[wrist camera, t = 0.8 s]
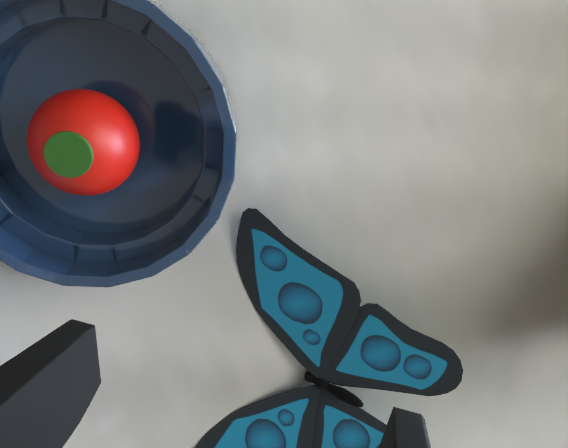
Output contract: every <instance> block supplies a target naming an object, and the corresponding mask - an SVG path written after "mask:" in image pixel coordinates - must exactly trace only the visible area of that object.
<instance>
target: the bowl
mask: <svg viewBox="0 0 568 448" xmlns="http://www.w3.org/2000/svg"><path fill="white" fill-rule="evenodd" d="M71 89H90V90H94V91H98V92H101V93H104V94H106V95H108V96H110V97H112V98H113V99H115V100H116V101H118V102H119V103H120V104H121V105H122V106H123V107H124V108H125V109H126V110H127V111H128V112H129V114H130V115H131V117H132V118H133V120H134V122H135V124H136V127H137V129H138V133H139V139H140V153H139V158H138V161H137V164H136V166H135V168H134V170H133V171H132V173H131V175H130V176H129V177H128V178H127V179H126V180H125V181H124V182H123V183H122V184H121V185H119V186H118V187H116V188H115V189H113V190H111V191H109V192H105V193H102V194H99V195H92V196H82V195H75V194H70V193H67V192H64V191H62V190H60V189H58V188H56V187H54V186H53V185H51V184H50V183H49V182H47V181H46V180H45V179H44V178H43V177H42V176H41V175H40V174H39V172H38V171H37V170H36V168H35V167H34V165H33V163H32V161H31V159H30V156H29V153H28V148H27V131H28V126H29V123H30V120H31V118H32V116H33V114H34V113H35V111H36V110H37V109H38V107H39V106H40V105H41V104H42V103H43V102H44V101H45V100H47V99H48V98H50V97H51V96H53V95H55V94H57V93H60V92H63V91H66V90H71ZM236 131H237V123H236V118H235V114H234V110H233V106H232V103H231V99H230V95H229V92H228V88H227V84H226V80H225V78H224V76H223V75H222V73H221V71H220V70H219V68H218V67H217V65H216V64H215V62H214V60H213V59H212V57H211V56H210V54H209V52H208V51H207V49H206V48H205V46H204V45H203V43H202V41H201V40H200V39H199V38H198V37H197V36H196V35H195V34H194V33H192V32H191V31H190V30H189V29H188V28H187V27H186V26H184V25H183V24H182V23H181V22H180V21H179V20H177V19H176V18H175V17H174V16H173V15H172V14H170V13H169V12H168V11H167V10H166V9H165V8H163V7H162V6H160V5H158V4H155V3H153V2H151V1H148V0H0V261H2V262H3V263H5V264H6V265H8V266H10V267H11V268H13V269H14V270H16V271H18V272H21V273H24V274H27V275H31V276H34V277H37V278H40V279H44V280H47V281H50V282H53V283H57V284H60V285H64V286H88V287H112V286H116V285H120V284H124V283H128V282H132V281H136V280H140V279H144V278H148V277H152V276H154V275H156V274H158V273H159V272H161V271H162V270H164V269H166V268H167V267H169V266H171V265H172V264H174V263H176V262H177V261H179V260H181V259H182V258H184V257H185V256H187V255H189V254H190V253H191V252H192V251H193V250H194V248H195V247H196V246H197V245H198V244H199V242H200V241H201V240H202V239H203V238H204V237H205V235H206V234H207V233H208V232H209V231H210V230H211V228H212V227H213V226H214V225H215V224H216V222H217V220H218V219H219V217H220V214H221V212H222V209H223V207H224V204H225V202H226V199H227V197H228V194H229V191H230V189H231V186H232V184H233V181H234V173H235V153H236Z"/></svg>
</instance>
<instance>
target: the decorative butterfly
mask: <svg viewBox="0 0 568 448" xmlns="http://www.w3.org/2000/svg"><path fill="white" fill-rule="evenodd" d="M236 255H237V265H238V269H239V273H240V276H241V279H242V282H243V284H244V286H245V289H246V291H247V293H248V295H249V297H250V299H251V301H252V303H253V305H254V307H255V309H256V311H257V312H258V313H259V315H260V316H261V317H262V319H263V320H264V321H265V323H266V324H267V325H268V326H269V328H270V329H271V330H272V331H273V332H274V333H275V335H276V336H277V337H278V338H279V339H280V340H281V342H282V343H283V344H284V345H285V346H286V347H287V348H288V349H289V351H290V352H291V353H292V354H293V355H294V356H295V357H296V359H297V360H298V361H299V362H300V363H301V364H302V365H303V366H304V367H305V368H306V369H307V370H308V371H307V372H306V374H305V376H304V378H305V380H306V381H307V382H312V383H314V384H315V385H312V386H306V387H301V388H296V389H293V390H290V391H288V392H285V393H282V394H279V395H276V396H274V397H271V398H268V399H265V400H262V401H259V402H257V403H254V404H251V405H249V406H247V407H244V408H242V409H240V410H238V411H235V412H233V413H231V414H230V415H229V416H227V417H226V418H225V419H224V420H222V421H221V422H220V423H218V424H217V425H216V426H215V427H213V428H212V429H211V430H210V431H209V432H208V433H207V434H206V435H205V436H204V437H203V438H202V439H201V441H200V442H199V443H198V445H197V446H196V448H378V447H379V445H380V442H381V439H382V437H383V434H384V431H385V429H386V426H387V425H386V424H384V423H383V422H381V421H379V420H378V419H376V418H375V417H373V416H372V415H370V414H368V413H367V412H365V411H364V410H362V409H361V408H359V407H362V406H363V403H362V401H361V400H360V399H359V398H358V397H357V396H355V395H354V394H353V393H351V392H349V391H348V390H346V389H344V388H341V387H338V386H335V385H332V384H336V385H340V386H350V387H361V388H370V389H379V390H387V391H395V392H403V393H410V394H417V395H424V396H435V395H441V394H445V393H449V392H450V391H452V390H454V389H456V387H457V386H458V385H459V383H460V382H461V380H462V374H463V369H462V365H461V361H460V359H459V357H458V356H457V355H456V353H455V352H454V350H452V349H451V348H449V347H448V346H447V345H445V344H444V343H442V342H440V341H438V340H435V339H433V338H431V337H428V336H426V335H424V334H422V333H419V332H417V331H415V330H413V329H411V328H409V327H408V326H406V325H405V324H403V323H402V322H400V321H399V320H398V319H396V318H395V317H394V316H393V315H391V314H390V313H389V312H388V311H386V310H385V309H384V308H382V307H381V306H379V305H378V304H365V305H363V306H361V307H359V306H360V303H361V299H360V294H359V290H358V289H357V287H356V285H355V283H354V282H352V281H351V280H349V279H348V278H346V277H345V276H343V275H342V274H340V273H338V272H337V271H335V270H334V269H332V268H331V267H329V266H328V265H326V264H325V263H323V262H322V261H320V260H319V259H317V258H316V257H314V256H313V255H311V254H310V253H308V252H307V251H305V250H304V249H302V248H301V247H300V246H298V245H297V244H296V243H294V242H293V241H292V240H290V239H289V238H288V237H286V236H285V235H284V234H283V233H282V232H281V231H280V230H279V229H278V228H277V227H276V226H275V225H274V224H273V223H272V222H271V221H270V220H268V219H267V218H266V217H265V216H264V215H263V214H262V213H260V212H259V211H258V210H257V209H251V208H248V209H247V210H245V211H244V212H243V213H242V217H241V222H240V226H239V231H238V237H237V247H236ZM329 383H332V384H329Z"/></svg>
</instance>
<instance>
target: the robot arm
mask: <svg viewBox="0 0 568 448" xmlns="http://www.w3.org/2000/svg"><path fill="white" fill-rule="evenodd" d="M100 383H101V378H100V369H99V360H98V350H97V341H96V332H95V325H91V324H88V323H84V322H80V321H76V320H73V319H71V320H70V321H68V322H66V323H65V324H63V325H62V326H60V327H59V328H57V329H56V330H54V331H53V332H51V333H50V334H48V335H47V336H45V337H44V338H42V339H41V340H39V341H38V342H36V343H35V344H33V345H32V346H30V347H29V348H27V349H26V350H24V351H23V352H21V353H20V354H18V355H17V356H15V357H14V358H12V359H10V360H9V361H7V362H6V363H4V364H3V365H1V366H0V448H62V447H63V446H64V444H65V443H66V442H67V440H68V439H69V437H70V436H71V434H72V433H73V431H74V430H75V428H76V427H77V425H78V424H79V422H80V421H81V419H82V417H83V415H84V414H85V412H86V410H87V408H88V406H89V405H90V403H91V401H92V399H93V397H94V395H95V393H96V391H97V389H98V387H99V385H100ZM378 448H431V446H430V442H429V438H428V433H427V429H426V423H425V419H424V418H423V416H422V415H421V414H418V413H414V412H410V411H407V410H403V409H399V408H396V407H393V410H392V413H391V415H390V418H389V421H388V423H387V426H386V429H385V431H384V434H383V437H382V439H381V442H380V445H379V447H378Z"/></svg>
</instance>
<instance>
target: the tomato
mask: <svg viewBox="0 0 568 448" xmlns="http://www.w3.org/2000/svg"><path fill="white" fill-rule="evenodd" d="M27 148H28V153H29V156H30V159H31V161H32V163H33V165H34V167H35V168H36V170H37V171H38V172H39V174H40V175H41V176H42V177H43V178H44V179H45V180H46V181H47V182H49V183H50V184H51V185H53V186H54V187H56V188H58V189H60V190H62V191H64V192H67V193H70V194H75V195H82V196H92V195H99V194H102V193H105V192H109V191H111V190H113V189H115V188H116V187H118V186H119V185H121V184H122V183H123V182H124V181H125V180H126V179H127V178H128V177H129V176H130V175H131V173H132V171H133V170H134V168H135V166H136V164H137V161H138V158H139V153H140V139H139V133H138V129H137V127H136V124H135V122H134V120H133V118H132V117H131V115H130V114H129V112H128V111H127V110H126V109H125V108H124V107H123V106H122V105H121V104H120V103H119V102H118V101H116V100H115V99H113V98H112V97H110V96H108V95H106V94H104V93H101V92H98V91H94V90H90V89H71V90H66V91H63V92H60V93H57V94H55V95H53V96H51V97H50V98H48V99H47V100H45V101H44V102H43V103H42V104H41V105H40V106H39V107H38V109H37V110H36V111H35V113H34V114H33V116H32V118H31V120H30V123H29V126H28V131H27Z"/></svg>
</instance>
